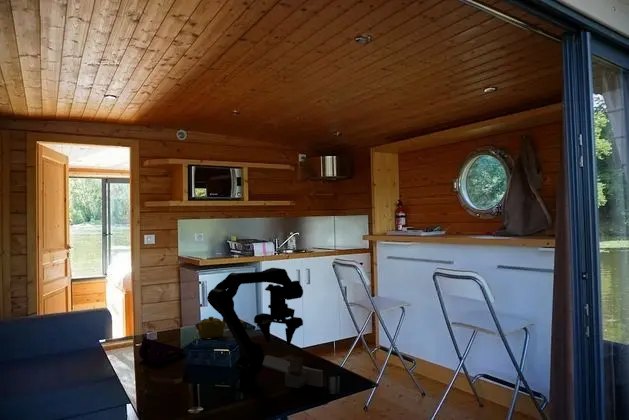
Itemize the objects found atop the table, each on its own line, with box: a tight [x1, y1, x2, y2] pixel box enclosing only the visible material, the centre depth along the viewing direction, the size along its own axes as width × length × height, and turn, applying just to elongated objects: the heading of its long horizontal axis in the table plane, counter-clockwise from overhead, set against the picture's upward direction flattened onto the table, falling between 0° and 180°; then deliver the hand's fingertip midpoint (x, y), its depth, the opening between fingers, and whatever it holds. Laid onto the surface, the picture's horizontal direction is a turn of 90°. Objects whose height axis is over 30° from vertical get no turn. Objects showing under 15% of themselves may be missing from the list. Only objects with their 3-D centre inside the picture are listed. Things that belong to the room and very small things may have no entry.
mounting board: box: [288, 365, 324, 388], centre depth 163 cm, size 2×14×6 cm, turn 60°
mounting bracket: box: [138, 337, 185, 365], centre depth 195 cm, size 9×8×18 cm
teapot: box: [194, 316, 226, 340], centre depth 228 cm, size 14×13×10 cm
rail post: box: [289, 356, 304, 376], centre depth 158 cm, size 3×3×8 cm
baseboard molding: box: [262, 354, 322, 375], centre depth 181 cm, size 31×3×12 cm
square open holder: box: [284, 370, 308, 389], centre depth 159 cm, size 8×6×4 cm
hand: (278, 343), depth 168 cm, fingers open, 9 cm apart
